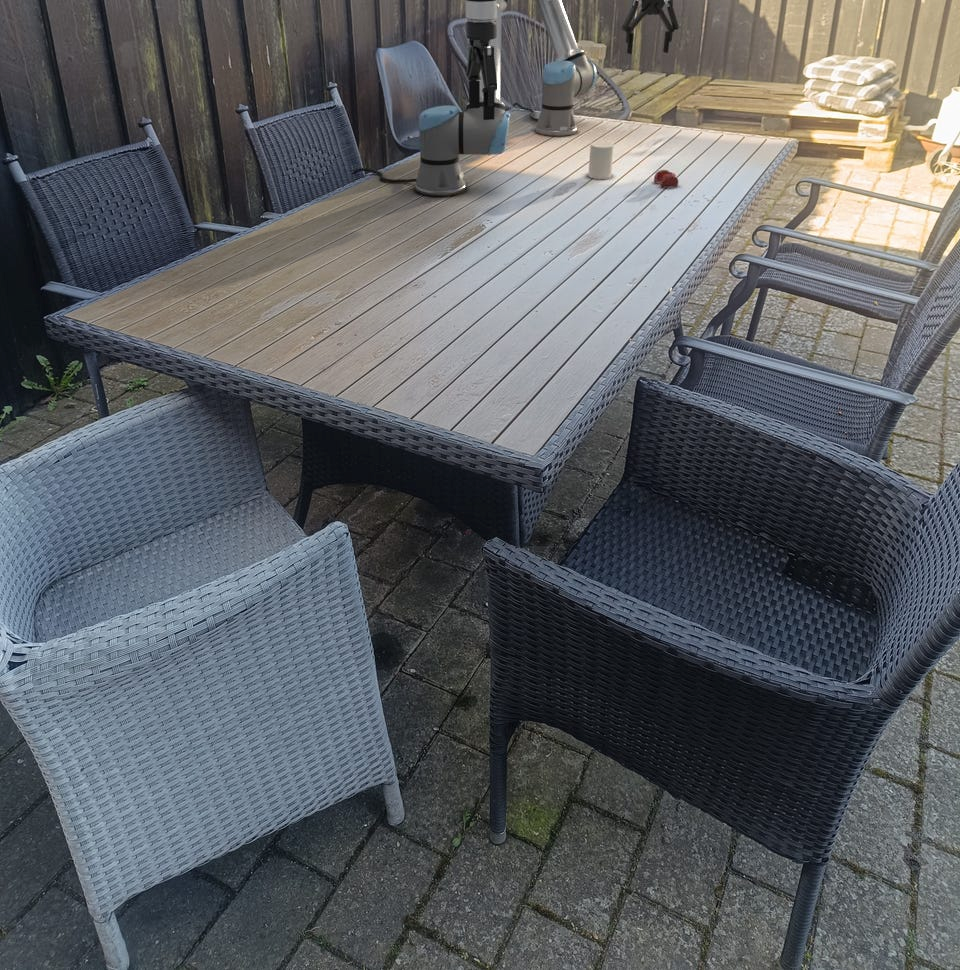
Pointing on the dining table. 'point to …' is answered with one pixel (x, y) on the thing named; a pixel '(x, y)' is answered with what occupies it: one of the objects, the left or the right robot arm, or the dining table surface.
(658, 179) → the red rounded lump
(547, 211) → the dining table surface
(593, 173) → the cylinder
